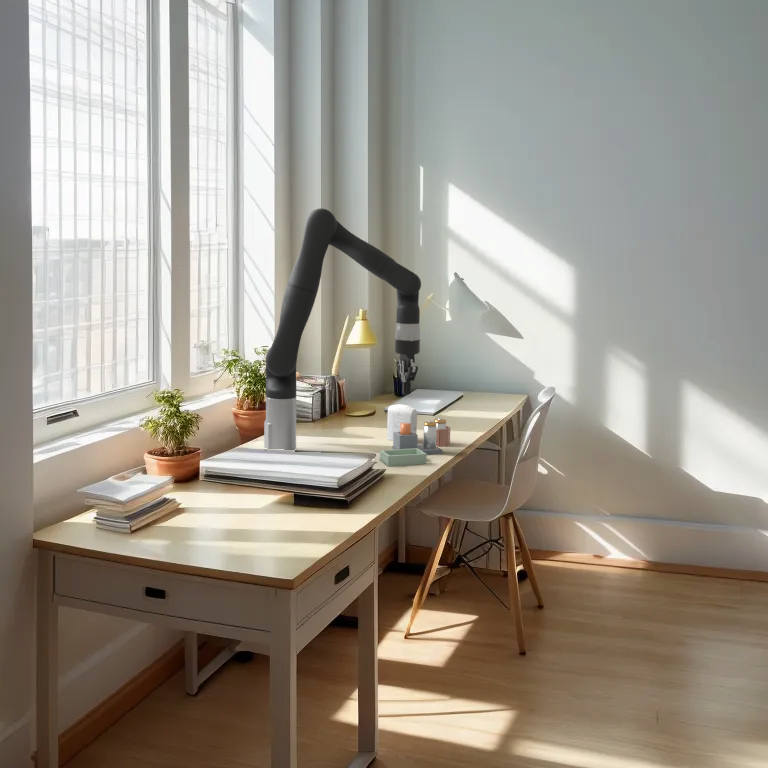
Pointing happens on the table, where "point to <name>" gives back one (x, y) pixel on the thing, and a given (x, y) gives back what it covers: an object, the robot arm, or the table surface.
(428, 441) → the cylinder
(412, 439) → the grey stepped block
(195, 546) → the table surface
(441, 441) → the cup
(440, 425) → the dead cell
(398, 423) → the photo printer
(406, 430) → the button
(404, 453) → the trough
